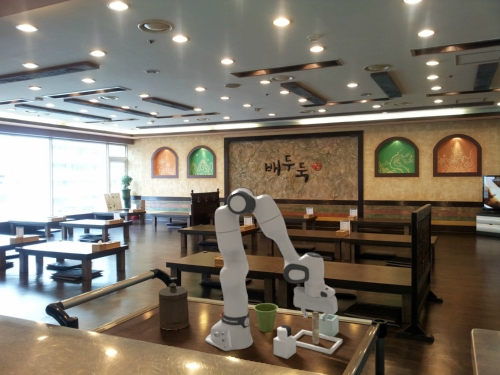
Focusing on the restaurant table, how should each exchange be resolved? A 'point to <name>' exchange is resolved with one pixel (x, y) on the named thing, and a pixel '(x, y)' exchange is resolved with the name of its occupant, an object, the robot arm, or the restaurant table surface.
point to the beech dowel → (315, 327)
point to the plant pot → (266, 316)
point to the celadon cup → (329, 325)
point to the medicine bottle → (284, 342)
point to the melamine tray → (324, 350)
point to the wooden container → (173, 307)
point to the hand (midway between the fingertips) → (315, 319)
